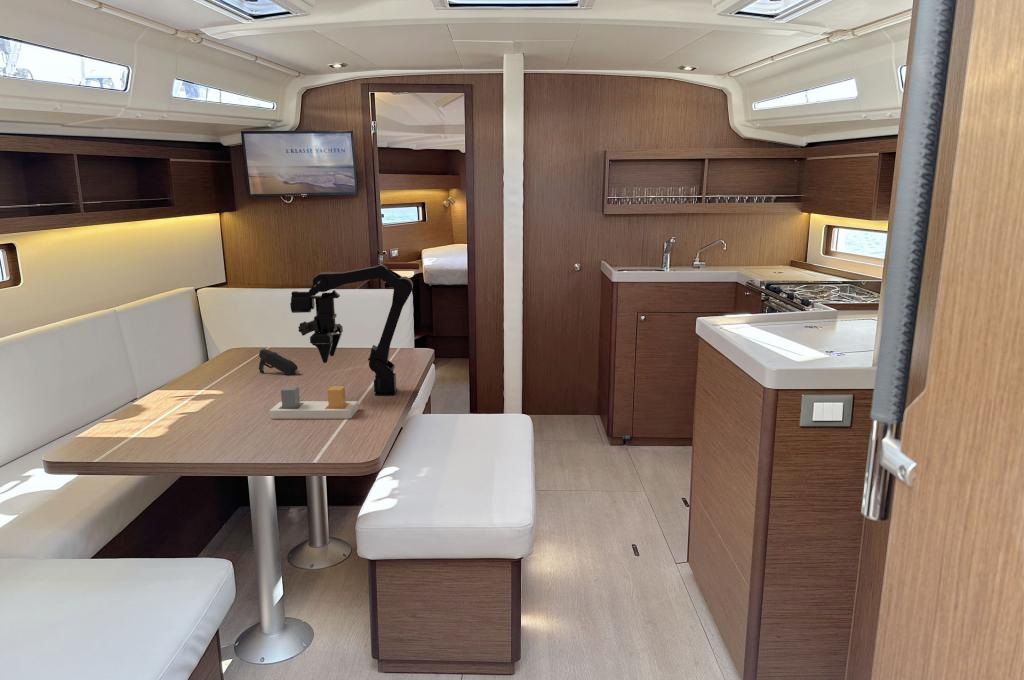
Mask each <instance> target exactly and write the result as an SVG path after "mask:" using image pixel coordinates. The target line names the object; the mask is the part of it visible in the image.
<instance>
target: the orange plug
mask: <svg viewBox="0 0 1024 680" xmlns="http://www.w3.org/2000/svg"><path fill="white" fill-rule="evenodd" d="M327 399H328V400H327V401H328V403H329V409H345V408H346V399H347V398H346V387H345V386H341V385H340V386H339V385H337V386H336V385H335V386H334V385H333V386H331V387H329V388H328V389H327Z"/></svg>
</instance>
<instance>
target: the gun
mask: <svg viewBox="0 0 1024 680" xmlns="http://www.w3.org/2000/svg"><path fill="white" fill-rule="evenodd" d="M258 357H259V358H260V360H259V363H258V365H259V366H258V369H259V373H261V374H263V375H264V374H265V371H264V368H265V366H266V367H267V368H269V369H273V368H275V369H276V370H278V371H280V372H282V373H283V374H285V375H287V376H290V377H291V376H294V375H296V374H299V373H300V370H298V369H299V368H298V366H297V364H296V363H295V362H293V361H292V360H291V359H289V358H288V357H286V356H284V355H282V354H281V353H278V352H275V351H271V350H269V349H268V348H263V349H261V350H260V351H259V353H258Z"/></svg>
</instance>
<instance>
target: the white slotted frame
mask: <svg viewBox="0 0 1024 680" xmlns="http://www.w3.org/2000/svg"><path fill="white" fill-rule="evenodd" d="M358 410H359V401H356V400H351V401H350V400H347V401H346V408H345V409H329V403H328V400H327V401H326V400H325V401H324V400H323V401H319V400H318V401H317V400H315V401H310V400H309V401H307V400H305V401H304V400H303V401H301V400H300V407H299V408H298V409H282V401H279V402H277V404H276V405H274V406H273V407H272V408H271V409H269V412H268V413H269V419H271V420H273V419H275V420H277V419H280V420H284V419H285V420H287V419H288V420H290V419H291V420H292V419H295V420H297V419H299V420H302V419H303V420H305V419H307V420H308V419H313V420H314V419H316V420H317V419H318V420H319V419H321V420H323V419H325V420H326V419H327V420H330V419H335V420H337V419H340V420H341V419H343V420H344V419H345V420H346V419H347V420H348V419H352V417H353V416H354V415H355V414H356V412H357V411H358Z"/></svg>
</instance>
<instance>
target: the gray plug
mask: <svg viewBox="0 0 1024 680" xmlns="http://www.w3.org/2000/svg"><path fill="white" fill-rule="evenodd" d="M280 396H281V398H280V399H281V402H282V409H298V408H299V407H300V401H301V397H300V387H299V385H298V386H297V385H295V386H284V387H282V389H280Z"/></svg>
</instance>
